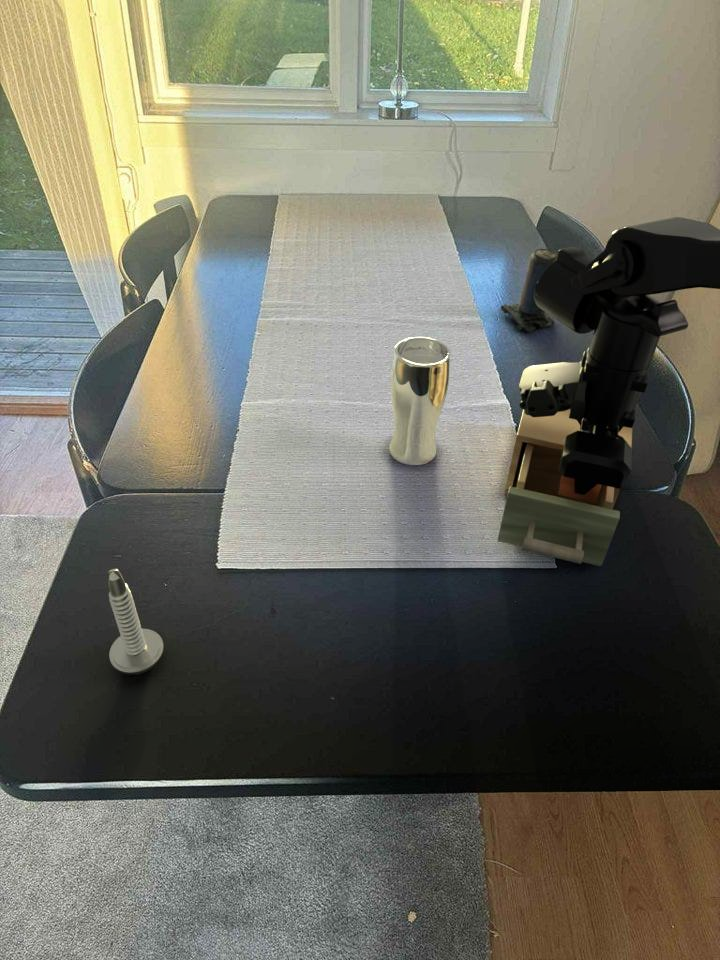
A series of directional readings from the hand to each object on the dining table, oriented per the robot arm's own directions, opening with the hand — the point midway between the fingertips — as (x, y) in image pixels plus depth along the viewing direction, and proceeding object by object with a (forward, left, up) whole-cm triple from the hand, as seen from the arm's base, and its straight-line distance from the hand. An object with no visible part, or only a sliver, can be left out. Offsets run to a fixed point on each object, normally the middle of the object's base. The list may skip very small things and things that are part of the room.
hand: (581, 480), depth 76 cm
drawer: (+2, +1, -7) cm, 7 cm away
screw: (+37, +32, -8) cm, 49 cm away
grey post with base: (+12, -50, -8) cm, 52 cm away
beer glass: (+21, -8, -8) cm, 23 cm away
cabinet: (+2, -11, -8) cm, 14 cm away
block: (0, 0, -1) cm, 1 cm away
